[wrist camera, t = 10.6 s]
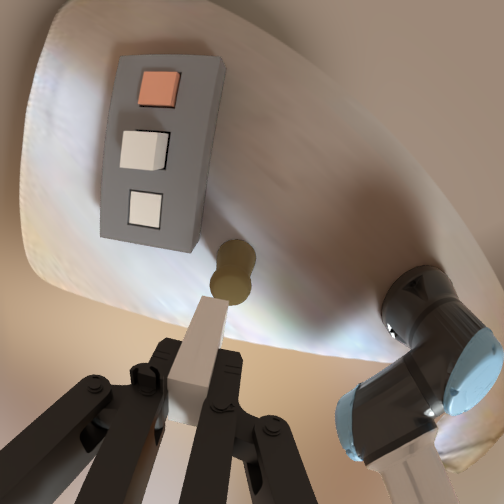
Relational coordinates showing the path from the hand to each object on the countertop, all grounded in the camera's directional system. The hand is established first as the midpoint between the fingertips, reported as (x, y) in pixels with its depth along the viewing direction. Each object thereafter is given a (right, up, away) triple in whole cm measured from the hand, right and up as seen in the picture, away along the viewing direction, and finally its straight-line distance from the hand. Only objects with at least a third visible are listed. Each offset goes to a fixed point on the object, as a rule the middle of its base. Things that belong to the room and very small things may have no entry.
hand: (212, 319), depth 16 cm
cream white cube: (-11, +17, +18) cm, 26 cm away
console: (-10, +19, +23) cm, 32 cm away
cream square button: (-12, +11, +24) cm, 29 cm away
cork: (0, +3, +29) cm, 29 cm away
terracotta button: (-9, +25, +18) cm, 32 cm away
